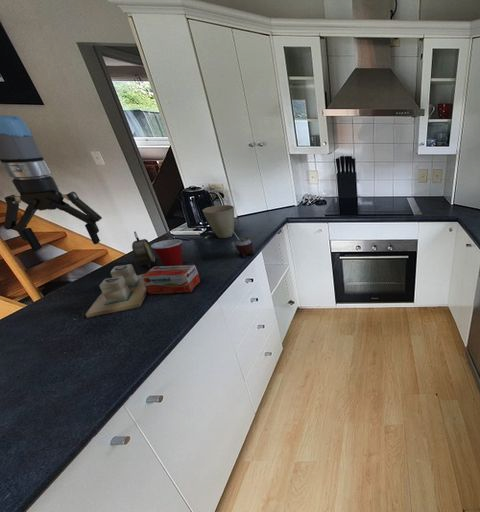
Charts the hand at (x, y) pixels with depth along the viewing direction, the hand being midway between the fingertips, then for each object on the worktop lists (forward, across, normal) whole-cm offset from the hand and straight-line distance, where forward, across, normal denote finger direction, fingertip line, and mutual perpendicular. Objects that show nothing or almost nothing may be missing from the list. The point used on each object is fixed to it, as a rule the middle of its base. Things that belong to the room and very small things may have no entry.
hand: (68, 246), depth 86 cm
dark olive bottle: (+23, +8, +29) cm, 38 cm away
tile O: (+21, +6, +10) cm, 24 cm away
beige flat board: (+23, +6, +5) cm, 24 cm away
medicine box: (+23, +22, +2) cm, 32 cm away
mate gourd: (+22, +48, +22) cm, 57 cm away
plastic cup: (+23, +19, +22) cm, 37 cm away
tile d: (+21, +6, 0) cm, 22 cm away
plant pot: (+23, +38, +54) cm, 70 cm away
